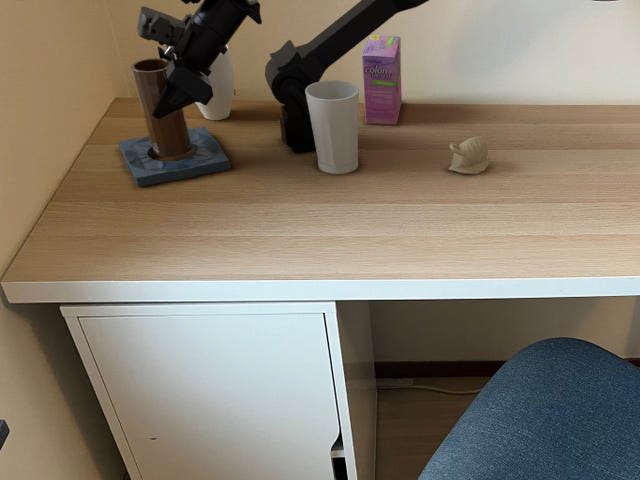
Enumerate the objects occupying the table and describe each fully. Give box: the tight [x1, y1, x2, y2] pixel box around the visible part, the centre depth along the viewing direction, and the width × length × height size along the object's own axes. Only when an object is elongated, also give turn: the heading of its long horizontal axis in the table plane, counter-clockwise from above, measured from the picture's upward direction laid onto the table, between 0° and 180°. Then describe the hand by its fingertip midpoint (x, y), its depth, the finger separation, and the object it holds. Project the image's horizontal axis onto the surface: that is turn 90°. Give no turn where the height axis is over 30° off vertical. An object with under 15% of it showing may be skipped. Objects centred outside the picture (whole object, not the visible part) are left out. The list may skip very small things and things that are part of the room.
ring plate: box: [117, 126, 231, 188], centre depth 124 cm, size 14×14×2 cm
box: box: [361, 34, 403, 126], centre depth 137 cm, size 10×6×12 cm, turn 179°
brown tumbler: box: [130, 57, 192, 158], centre depth 119 cm, size 6×6×13 cm
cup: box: [305, 79, 360, 175], centre depth 121 cm, size 8×8×12 cm
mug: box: [193, 44, 235, 121], centre depth 133 cm, size 12×8×11 cm
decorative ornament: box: [447, 136, 490, 175], centre depth 123 cm, size 4×8×5 cm, turn 129°
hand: (153, 109), depth 118 cm, fingers closed on brown tumbler, 6 cm apart
